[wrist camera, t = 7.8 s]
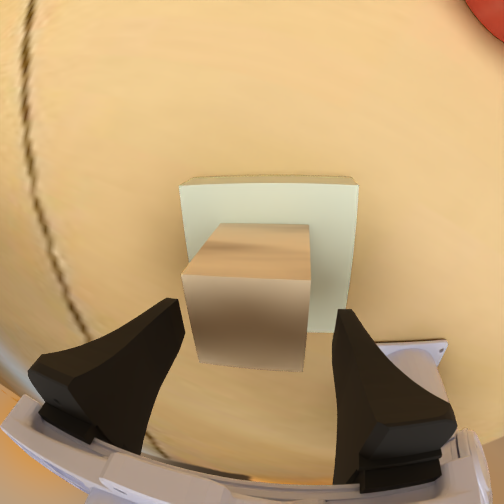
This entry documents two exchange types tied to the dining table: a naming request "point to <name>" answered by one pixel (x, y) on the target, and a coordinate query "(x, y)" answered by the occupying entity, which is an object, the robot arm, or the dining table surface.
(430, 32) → the dining table surface
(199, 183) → the base block
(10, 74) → the dining table surface
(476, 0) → the flower pot
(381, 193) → the dining table surface
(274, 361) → the maple block
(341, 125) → the dining table surface
